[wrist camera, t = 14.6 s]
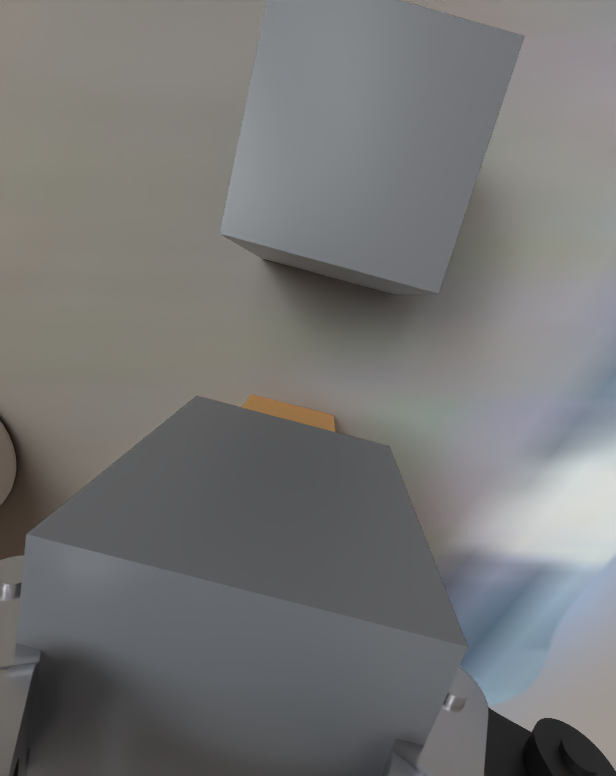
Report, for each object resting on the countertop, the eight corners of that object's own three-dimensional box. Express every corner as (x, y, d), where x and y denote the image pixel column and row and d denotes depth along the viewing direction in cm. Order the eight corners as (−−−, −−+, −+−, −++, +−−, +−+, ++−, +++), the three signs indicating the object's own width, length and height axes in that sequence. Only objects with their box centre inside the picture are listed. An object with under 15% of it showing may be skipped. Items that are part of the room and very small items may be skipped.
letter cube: (251, 394, 19) (232, 420, 15) (333, 414, 19) (336, 446, 15) (234, 470, 20) (211, 514, 16) (313, 489, 20) (310, 538, 16)
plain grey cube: (196, 395, 12) (26, 534, 5) (389, 446, 12) (468, 646, 5) (164, 561, 13) (-3, 838, 7) (335, 605, 14) (344, 923, 7)
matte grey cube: (295, 106, 16) (273, -36, 9) (440, 146, 16) (524, 36, 9) (261, 258, 17) (219, 233, 11) (394, 294, 17) (438, 293, 11)
